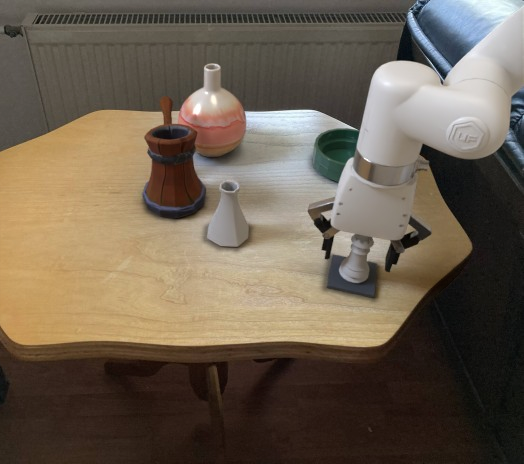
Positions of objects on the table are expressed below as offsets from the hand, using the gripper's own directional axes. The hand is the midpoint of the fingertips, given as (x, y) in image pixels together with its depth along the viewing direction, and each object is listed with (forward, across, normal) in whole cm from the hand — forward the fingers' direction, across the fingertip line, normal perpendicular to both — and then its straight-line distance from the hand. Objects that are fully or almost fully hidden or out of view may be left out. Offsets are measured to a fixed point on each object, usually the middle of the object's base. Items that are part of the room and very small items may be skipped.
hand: (357, 258), depth 77 cm
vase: (+4, +31, -28) cm, 42 cm away
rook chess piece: (+4, 0, 0) cm, 4 cm away
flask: (+4, +21, -4) cm, 22 cm away
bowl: (+4, +4, -30) cm, 31 cm away
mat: (+4, 0, 0) cm, 4 cm away
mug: (+4, +34, -13) cm, 37 cm away
